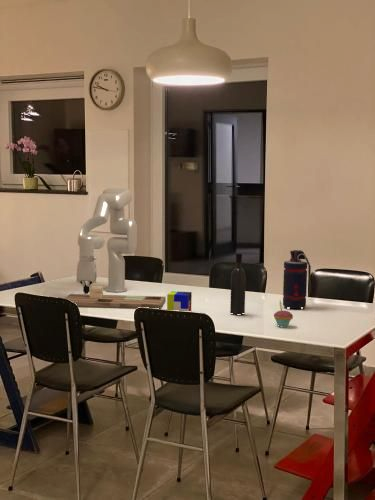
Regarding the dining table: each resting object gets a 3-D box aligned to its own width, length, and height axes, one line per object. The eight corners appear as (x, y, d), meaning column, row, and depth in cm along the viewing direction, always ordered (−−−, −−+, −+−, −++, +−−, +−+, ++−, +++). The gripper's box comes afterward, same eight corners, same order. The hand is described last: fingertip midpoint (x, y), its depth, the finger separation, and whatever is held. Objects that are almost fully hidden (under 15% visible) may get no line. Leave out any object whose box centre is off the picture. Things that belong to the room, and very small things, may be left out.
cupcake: (270, 326, 302) (271, 300, 301) (278, 323, 309) (279, 297, 308) (287, 329, 298) (288, 302, 296) (295, 325, 305) (296, 299, 304)
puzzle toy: (187, 315, 324) (187, 295, 323) (167, 314, 326) (167, 294, 325) (191, 312, 334) (191, 292, 333) (171, 310, 336) (171, 291, 335)
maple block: (91, 295, 361) (91, 286, 361) (102, 295, 361) (102, 286, 360) (89, 297, 355) (89, 288, 355) (100, 297, 355) (100, 288, 354)
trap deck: (70, 298, 366) (70, 293, 365) (165, 301, 362) (165, 296, 362) (59, 306, 342) (59, 301, 341) (160, 309, 338) (160, 304, 338)
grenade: (284, 309, 343) (286, 251, 340) (281, 305, 355) (282, 249, 352) (311, 310, 343) (313, 252, 340) (307, 306, 354) (309, 249, 351)
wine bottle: (229, 314, 329) (230, 253, 326) (236, 312, 333) (238, 252, 330) (238, 315, 325) (239, 254, 322) (245, 314, 329) (247, 253, 326)
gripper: (101, 259, 360) (101, 292, 361) (74, 258, 361) (74, 292, 363) (98, 260, 352) (98, 295, 354) (70, 259, 353) (70, 294, 355)
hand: (86, 293), depth 358 cm, fingers closed
